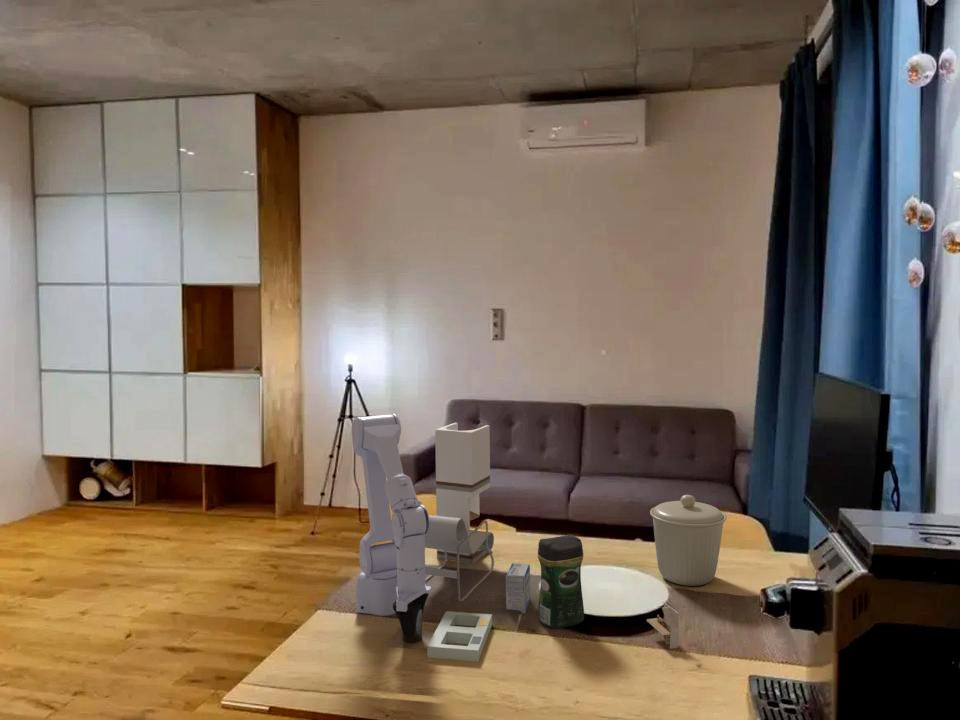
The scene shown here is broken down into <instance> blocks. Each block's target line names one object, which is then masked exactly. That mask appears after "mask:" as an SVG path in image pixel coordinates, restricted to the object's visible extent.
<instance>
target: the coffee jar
mask: <svg viewBox="0 0 960 720" xmlns="http://www.w3.org/2000/svg"><path fill="white" fill-rule="evenodd" d="M537 559H538V562H539V564H540V585H539V587H540V588H539V596H538V597H539V598H538V606H537V607H538V609H537V610H538V611H537V616H538V617H537V618H538V619H539V621H540V623H542V624H543V625H544V626H546V627H549V628H553V629H560V628H561V629H562V628H567V627H571V626H576V625H579V624H581V623H582V622H583V621H584V619H585V607H584V601H583V600H584V598H583V590H582V577H581V573H582V571H581V570H582V563H583V560H584V549H583V542H582V540H581V539H580V538H579V537H577V536H576V535H573V534H571V533H570V534H568V535H562V536H553V537H547V538H541V539H539V541H538V548H537Z"/></svg>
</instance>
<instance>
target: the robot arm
mask: <svg viewBox="0 0 960 720" xmlns="http://www.w3.org/2000/svg"><path fill="white" fill-rule="evenodd" d="M399 418H400V417H398V416H397V415H396V413H390V414H381V415H380V414H379V415H373V416H372V415H370V416H355V417H354V419H353V421H352V424H351V438H352V448H353V451H354V454H355V455H357V456H359V457H361V461H362V466H363V467H362V468H363V475H364V485H365V493H366V501H367V509H368V519H369V527H370V530H369V531H368V532H367V533H366V534H365V535H364V536H363V537H362V538H361V539H360V541H359V552H358V553H359V554H358V556H359V558H358V561H359V565H360V569H361V572H360V573H359V574H358V577H357V581H356V588H355V589H356V613H359V614H367V615H368V614H370V615H373V616H392V615H395V614H396V616H397V618H398V620H399V621H398V622H399V624H400V627H401V629H402V632H403V635H404V637H414V635H415V631H416V623H417V617H418V613H419V610H420V608H421V609H422V617H423V615H424V610H425V606H426V602H427V599H428V597H429V594H430V593H431V592H432V587H431V586H429V585H428V586H427V584H426V582H425V579H426V574H425V567H426V548H425V535H423V534H427V533H428V531H429V527H430V521H429V515H430V514H429V512H428V509H427V508H426V506H425V505H424V504H423V502H422V501H421V500H419V499H418V496H417V493H416V491H415V487H414V483H413V481H412V479H411V477H410V476H408V475H406V474H404V470H403V469H404V468H403V464H402V460H401V457H400V456H401V455H400V452H399V447H398V445H399V443H400V438H401V435H402V434H401V432H402V427H401V426H402V425H401V420H400V419H399ZM391 512H392V513H391ZM389 541H391V542H389ZM383 542H384V543H383ZM376 543H379V544H376ZM373 544H374V545H373ZM414 603H417V604H414Z"/></svg>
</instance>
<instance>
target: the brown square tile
mask: <svg viewBox="0 0 960 720" xmlns="http://www.w3.org/2000/svg"><path fill="white" fill-rule="evenodd" d="M435 631H436V630H426V629H424V630H423V629H422V640H421V641H419V642H417V643H406V642H404V641H403V640H402V628H398V629H397V630H396V632H395V634H394V635H393V637H392V639H391V640H390V642H389V643H388V645H387V647H390V648H399V649H400V648H402V649H414V650H416V649H417V650H424V651H425V650H426V651H427V646H428V644H429V642H430V640H431V638H432V637H433V635H434V633H435Z"/></svg>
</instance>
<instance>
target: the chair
mask: <svg viewBox="0 0 960 720" xmlns="http://www.w3.org/2000/svg"><path fill="white" fill-rule="evenodd" d="M428 515H429V521H430V527H429V531H428V533H427V534H423V535H425V549H431V550H437V549H439V550H444V552H445V559H443V560H444V561H443V563H442V565H440V566H439V567H438V568H437V567H430V566H425V575H428V576H427V577H425V583H426V582H428V581H429V580H428V579H429V578H430V579H431V578H432V577H434V576H437V577H444V578H450V579H456V580H457V581H456V583H457V584H456V586H457V588H456V590H457V601H458V602H461V601H462V602H463V600H464V599H465V598H466V597H467V596H468V595H469V594H470V593H471V592H472V591H473V590H474V589H475V588H476V587H477V586H478V585H479V586H480V584H482V582H483V581H485V580H486V578H487V577H488V576H489V575H490V574H491V573H493V571H494V566H495V559H494V557H493V553H492V552H491V550H492V549H493V547H494V540H495V536H494V533H493V532H491V531H489V523H488V520H486V519H485V520H482V521H481V522H480V523H479V525H478V526H476V527H475V529H470V530H467V529H466V525H465V522H464V519H462V518H453V517H444V516H439V515H436V514H434V515H432V514H428ZM484 524H485V531H484V530H483V531H482V530H479V529H480V528H481V527H482V526H483V525H484ZM446 550H447V551H454V552H457V561H456V570H453V569H444V567H446V565H447V562H448V560H447V552H446ZM477 550H486V551H488V554H489V556H490V558H491V565H490V570H489V571H488V572H487V573H486V574H485V575H484V576H483V577H482V578H481V579H480V580H479V581H478V582H477V583H476V584H475V585H474V586H473V587H472V588H471V589H470V590H469V591H468V592H467V593H466V594H465V595H464V596H463V597H462V598H461V592H460V591H461V589H460V586H461V585H460V562H459V552H462V553H470V554H474V553H475V552H476V551H477ZM427 580H428V581H427ZM479 586H478V587H479ZM478 587H477V588H478ZM477 588H476V589H477ZM476 589H475V590H476ZM475 590H474V591H475ZM474 591H473V592H474ZM473 592H472V593H473ZM472 593H471V594H472ZM471 594H470V595H471ZM470 595H469V596H470ZM469 596H468V597H469ZM468 597H467V598H468ZM467 598H466V599H467ZM466 599H465V600H466ZM465 600H464V601H465Z"/></svg>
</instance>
